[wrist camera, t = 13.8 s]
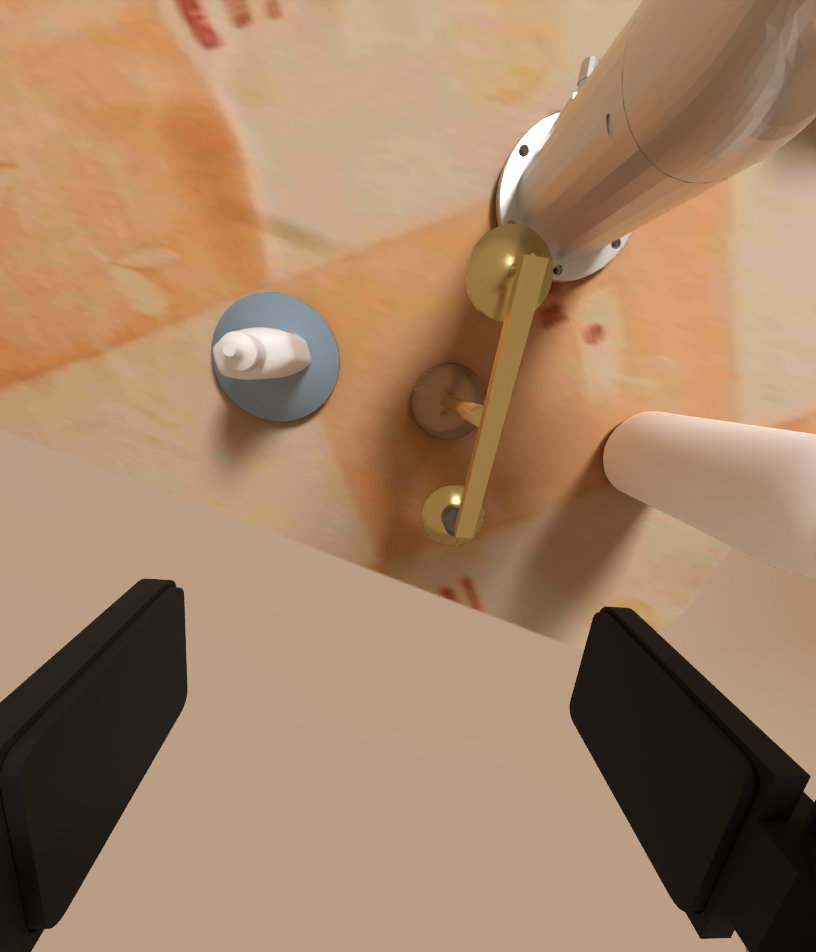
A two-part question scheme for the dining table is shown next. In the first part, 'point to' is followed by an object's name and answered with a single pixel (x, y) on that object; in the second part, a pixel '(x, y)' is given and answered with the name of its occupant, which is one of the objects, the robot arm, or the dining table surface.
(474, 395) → the balance
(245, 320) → the grey flat round piece
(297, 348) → the eye dropper bottle
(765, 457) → the alcohol
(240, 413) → the dining table surface
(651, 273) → the dining table surface
